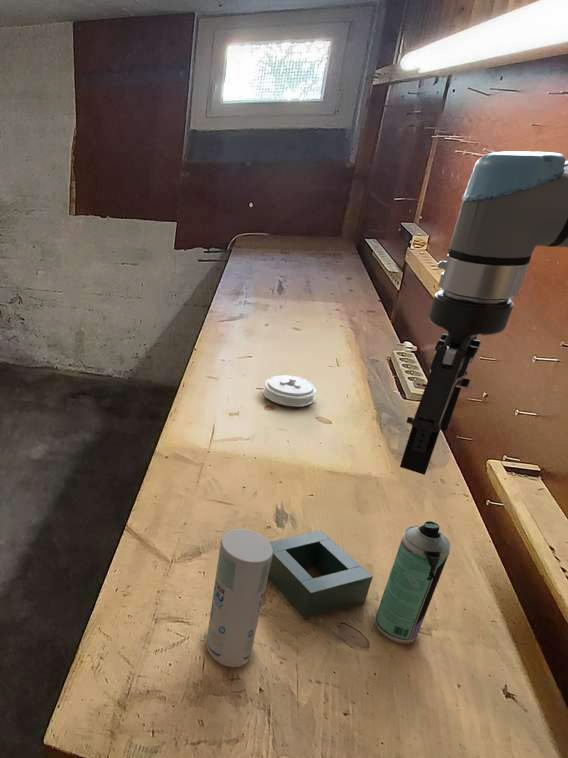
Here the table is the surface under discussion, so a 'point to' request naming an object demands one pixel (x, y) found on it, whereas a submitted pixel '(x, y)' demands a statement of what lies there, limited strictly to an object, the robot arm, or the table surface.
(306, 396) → the lid
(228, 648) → the spray can
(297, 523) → the table surface
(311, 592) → the holder
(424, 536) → the spray can
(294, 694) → the table surface
